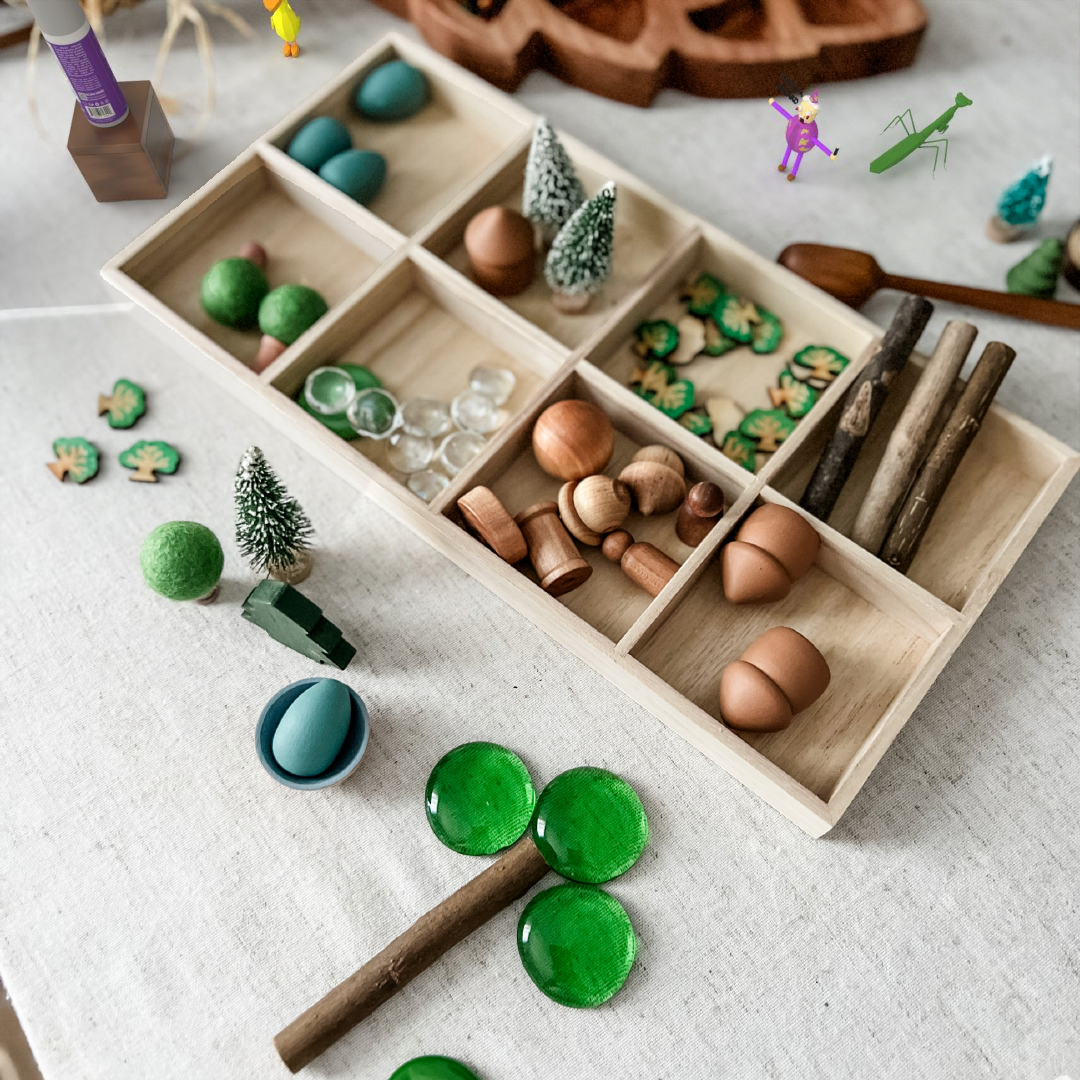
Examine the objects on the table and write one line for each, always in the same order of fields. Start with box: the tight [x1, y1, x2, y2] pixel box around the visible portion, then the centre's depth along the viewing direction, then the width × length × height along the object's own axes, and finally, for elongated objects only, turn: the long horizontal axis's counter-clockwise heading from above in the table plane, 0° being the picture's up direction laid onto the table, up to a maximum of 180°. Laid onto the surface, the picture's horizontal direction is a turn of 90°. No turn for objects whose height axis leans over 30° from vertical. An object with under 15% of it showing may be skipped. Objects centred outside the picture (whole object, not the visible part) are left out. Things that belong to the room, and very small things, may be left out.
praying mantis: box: [869, 91, 974, 179], centre depth 111 cm, size 9×15×4 cm, turn 127°
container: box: [25, 0, 129, 127], centre depth 97 cm, size 5×5×15 cm
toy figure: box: [262, 0, 302, 58], centre depth 114 cm, size 7×4×12 cm, turn 176°
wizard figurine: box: [768, 72, 841, 182], centre depth 106 cm, size 11×3×12 cm, turn 35°
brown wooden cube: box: [66, 79, 175, 203], centre depth 108 cm, size 8×10×8 cm
